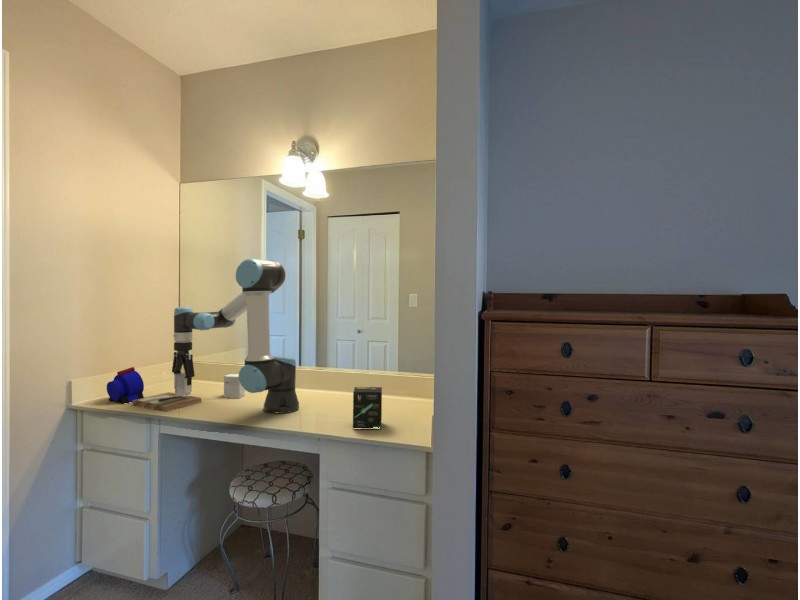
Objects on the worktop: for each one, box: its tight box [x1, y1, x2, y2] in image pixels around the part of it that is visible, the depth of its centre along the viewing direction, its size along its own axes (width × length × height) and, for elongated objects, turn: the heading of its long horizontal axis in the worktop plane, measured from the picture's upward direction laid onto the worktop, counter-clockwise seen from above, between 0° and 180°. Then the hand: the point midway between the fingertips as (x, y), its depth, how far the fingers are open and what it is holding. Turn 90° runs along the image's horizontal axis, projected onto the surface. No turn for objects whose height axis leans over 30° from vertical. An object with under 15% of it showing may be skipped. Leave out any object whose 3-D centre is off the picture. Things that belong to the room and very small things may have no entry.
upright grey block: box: [159, 372, 191, 401], centre depth 203 cm, size 13×2×11 cm, turn 138°
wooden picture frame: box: [132, 391, 202, 412], centre depth 204 cm, size 22×18×2 cm
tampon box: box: [352, 386, 383, 429], centre depth 176 cm, size 11×9×15 cm
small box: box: [223, 373, 246, 399], centre depth 219 cm, size 8×6×10 cm
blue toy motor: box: [106, 366, 145, 405], centre depth 207 cm, size 12×12×15 cm
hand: (182, 390), depth 205 cm, fingers open, 10 cm apart
